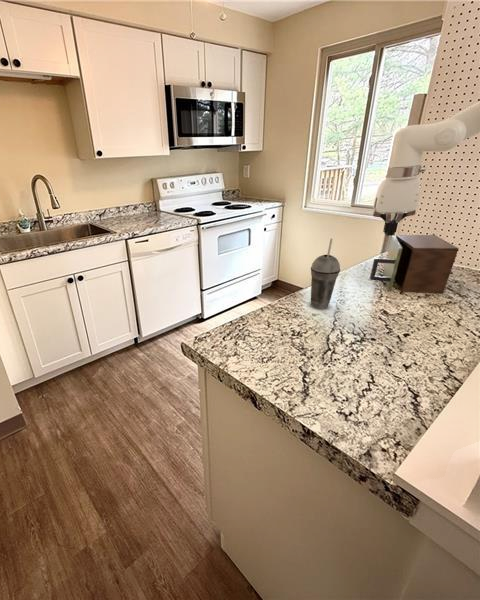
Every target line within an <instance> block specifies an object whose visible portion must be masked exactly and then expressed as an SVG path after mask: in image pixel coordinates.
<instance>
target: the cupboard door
mask: <svg viewBox="0 0 480 600" xmlns="http://www.w3.org/2000/svg"><path fill="white" fill-rule="evenodd" d="M402 249H403V248H402V247H401V245H400V243H399V241H398V239H397V238H396V235H393V236H391V239H390V243H389V248H388V251H387V256H386V258H384V257H374V258H373V263H372V266H371V272H370V276H369V280H370V281H376V282H377V281H379V282H385V285H386V288H387V291H390V292H391V291H392V289H393V286H394V279H395V275H396V271H397V267H398V264H399V260H400V256H401V252H402ZM379 264H384V268H383V272H382V275H376V274H377V269H378V265H379Z"/></svg>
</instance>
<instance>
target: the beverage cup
mask: <svg viewBox="0 0 480 600" xmlns="http://www.w3.org/2000/svg"><path fill="white" fill-rule="evenodd" d="M332 245H333V238H330V240H329V245H328V249H327V254H322V255H320V256H317V257H316V258H315V259H314V260H313V261H312V263H311V267H310V275H311V279H310V280H311V285H310V307H312V308H313V309H316V310H327V309H328V308H329V305H330V303H331V299H332V296H333V292H334V289H335V285H336V281H337V279H338V277H339V274H340V272H341V264H340V262H339V260H338V258H336V257H335V256H334V255H331V254H330V253H331V249H332Z"/></svg>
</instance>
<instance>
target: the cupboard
mask: <svg viewBox="0 0 480 600" xmlns="http://www.w3.org/2000/svg"><path fill="white" fill-rule="evenodd" d="M395 236H396V238H397V239H398V241H399V243H400V245H401V247H402V248H403V249H402V252H401V256H400V260H399V264H398V267H397V271H396V275H395V279H394V282H393V284H394V285H395V286H396V287H397V288H398V290H400V292H401V293H423V294H444V292H445V290H446V287H447V283H448V281H449V278H450V276H451V271H452V269H453V267H454V264H455V262H456V261H455V260H456V258H457V255H458V252H459V247H457V246H455V245H454V244H452V243H450V242H449V241H446V240H444V239H443V238H442V237H439V236H438V235H436V234H396V235H395Z"/></svg>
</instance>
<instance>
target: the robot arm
mask: <svg viewBox="0 0 480 600" xmlns="http://www.w3.org/2000/svg"><path fill="white" fill-rule="evenodd" d="M477 134H480V100H479V101H478V102H475V103H474V104H472V105H470V106H469V107H467V108H465V109H463V110H461V111H459V112H457V113H455V114H453V115H452V116H450V117H448V118H446V119H444V120H442V121H438V122H433V123H428V124H424V123H420V124H412V125H411V124H410V125H405V126H400V127H398V128H396V129H395V131H394V132H393V136H392V140H391V145H390V149H389V150H390V151H389V156H388V161H387V167H386V170H385V171H386V172H385V177H384V178H381V180H380V182H379V185H378V188H377V191H376V194H375V197H374V202H373V207H372V209H373V211H372V213H371V215H372V217H375V218H379V219H382V220H383V221H384V225H383V230H382V233H384V235H386V236H387V237H389V236H391V237H392V236H395V233H397V230H398V225H399V223H400V222H401V221H402V220H404V219H405V218H406V217H411V216H415V215H416V213H417V212H416V210H417V208H418V205H419V199H420V193H421V176H420V173H424V172H426V166H422V165H421V163H422V158H423V154H424V152H434V153H435V152H438V153H440V152H441V153H442V152H448V151H450V150H453V149H454V148H456V147H457V146H459V145H460V144H461V143H462V142H463V141H465V140H468V139H470V138H472V137H473V136H476V135H477ZM392 214H394V215H393V217H392Z"/></svg>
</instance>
